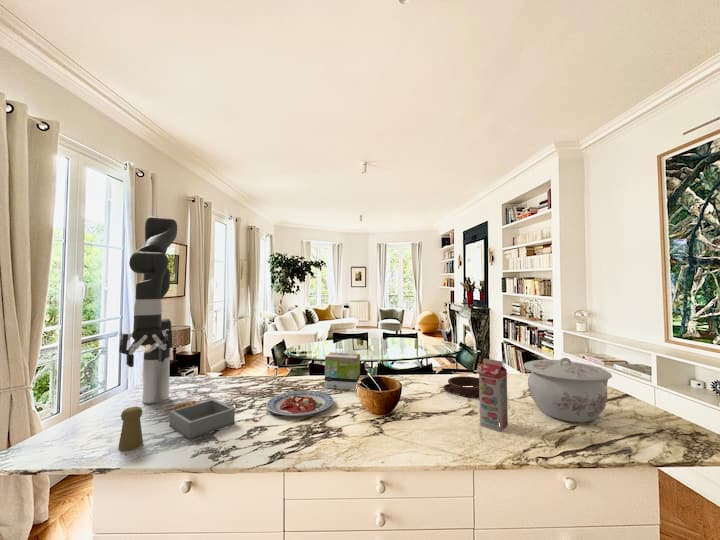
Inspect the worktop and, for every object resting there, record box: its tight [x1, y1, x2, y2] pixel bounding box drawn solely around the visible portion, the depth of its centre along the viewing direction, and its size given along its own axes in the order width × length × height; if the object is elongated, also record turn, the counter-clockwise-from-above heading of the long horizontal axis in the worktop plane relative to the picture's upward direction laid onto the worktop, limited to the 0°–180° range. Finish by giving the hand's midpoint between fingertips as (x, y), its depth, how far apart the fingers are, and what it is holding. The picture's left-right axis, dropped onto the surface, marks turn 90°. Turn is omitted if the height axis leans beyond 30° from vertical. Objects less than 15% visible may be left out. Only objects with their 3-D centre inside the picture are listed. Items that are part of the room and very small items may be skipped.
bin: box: [168, 398, 236, 440], centre depth 110 cm, size 15×15×5 cm
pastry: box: [168, 400, 197, 416], centre depth 121 cm, size 9×7×4 cm
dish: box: [443, 376, 479, 397], centre depth 143 cm, size 17×22×5 cm
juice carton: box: [478, 357, 509, 433], centre depth 110 cm, size 7×7×22 cm
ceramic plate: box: [265, 390, 334, 417], centre depth 127 cm, size 26×26×3 cm
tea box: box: [324, 352, 361, 391], centre depth 152 cm, size 15×10×15 cm, turn 80°
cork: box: [117, 406, 144, 452], centre depth 96 cm, size 6×6×11 cm
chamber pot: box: [523, 357, 613, 423], centre depth 119 cm, size 28×28×21 cm
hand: (146, 364), depth 104 cm, fingers open, 8 cm apart
